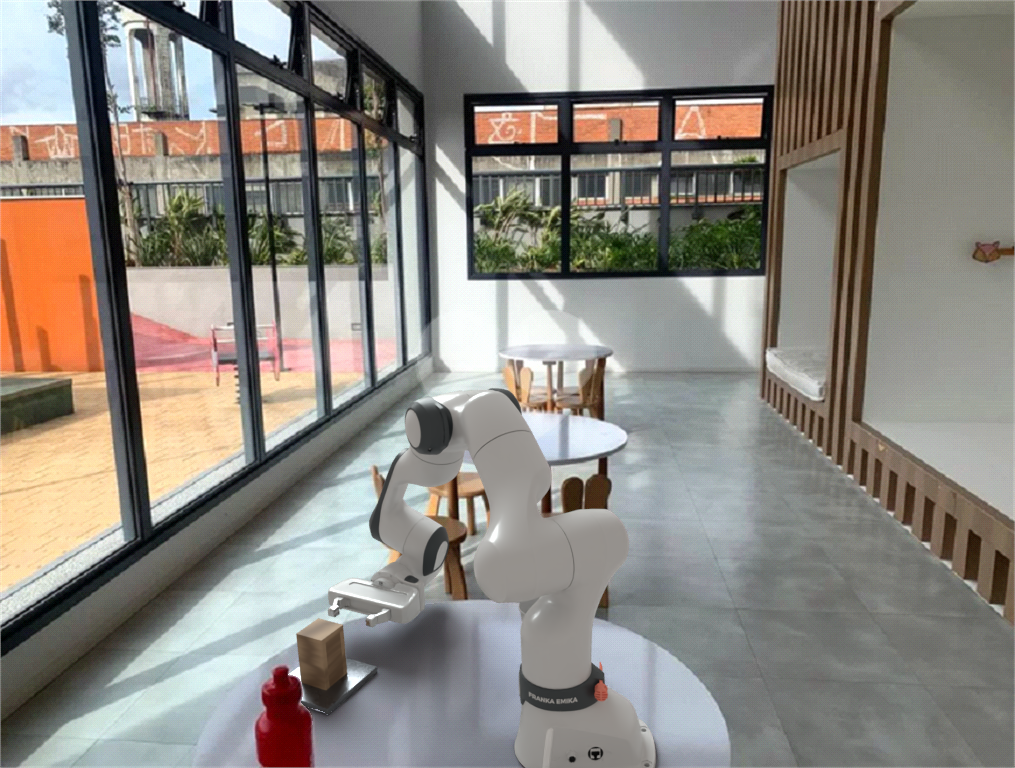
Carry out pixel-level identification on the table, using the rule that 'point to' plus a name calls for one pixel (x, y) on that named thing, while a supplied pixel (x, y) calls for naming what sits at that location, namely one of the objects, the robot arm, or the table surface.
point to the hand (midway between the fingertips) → (349, 618)
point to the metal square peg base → (336, 687)
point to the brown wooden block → (321, 653)
